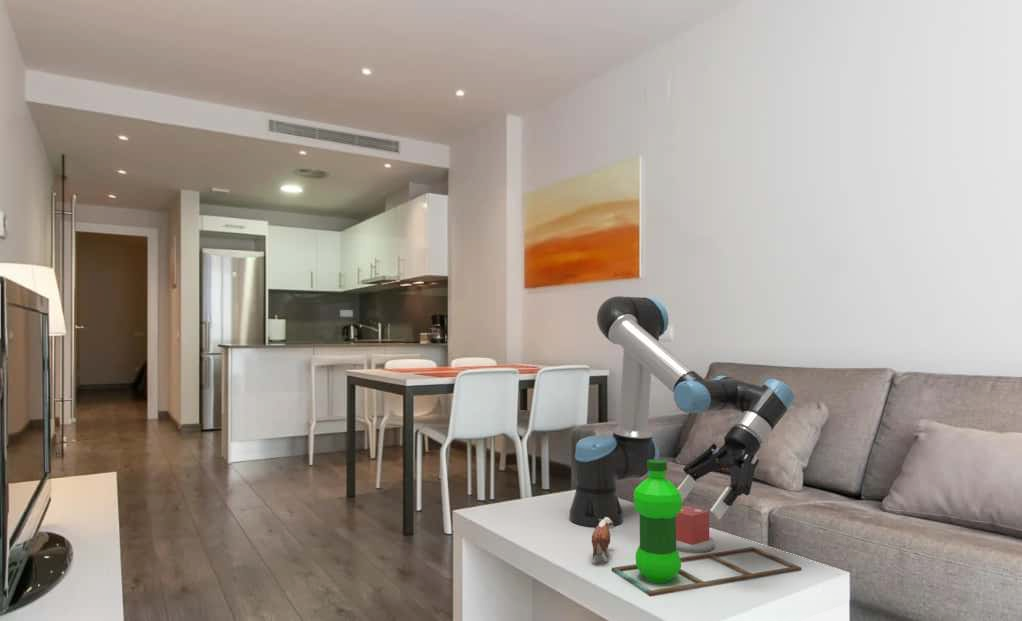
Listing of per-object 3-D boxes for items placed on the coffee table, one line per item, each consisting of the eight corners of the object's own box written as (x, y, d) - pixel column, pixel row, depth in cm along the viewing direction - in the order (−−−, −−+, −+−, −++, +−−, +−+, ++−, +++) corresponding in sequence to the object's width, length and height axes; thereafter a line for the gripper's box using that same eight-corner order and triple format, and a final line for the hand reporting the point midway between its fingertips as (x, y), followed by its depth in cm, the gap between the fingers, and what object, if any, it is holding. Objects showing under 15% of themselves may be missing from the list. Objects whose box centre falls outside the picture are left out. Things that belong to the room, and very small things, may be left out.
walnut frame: (611, 570, 138) (611, 567, 138) (752, 549, 153) (752, 546, 153) (650, 596, 124) (650, 593, 124) (801, 570, 139) (801, 567, 139)
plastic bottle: (635, 586, 129) (634, 465, 131) (633, 568, 140) (632, 456, 141) (684, 589, 128) (683, 466, 129) (679, 570, 138) (678, 457, 139)
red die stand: (654, 543, 157) (654, 508, 158) (684, 534, 164) (684, 501, 165) (694, 556, 148) (693, 519, 148) (724, 546, 155) (723, 511, 155)
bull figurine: (616, 549, 153) (616, 515, 153) (606, 568, 140) (606, 531, 140) (598, 547, 154) (598, 514, 154) (587, 565, 141) (587, 529, 142)
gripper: (798, 455, 133) (743, 533, 127) (720, 439, 157) (671, 504, 150) (778, 431, 132) (722, 510, 126) (702, 418, 155) (652, 484, 149)
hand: (694, 507), depth 138 cm, fingers open, 13 cm apart
